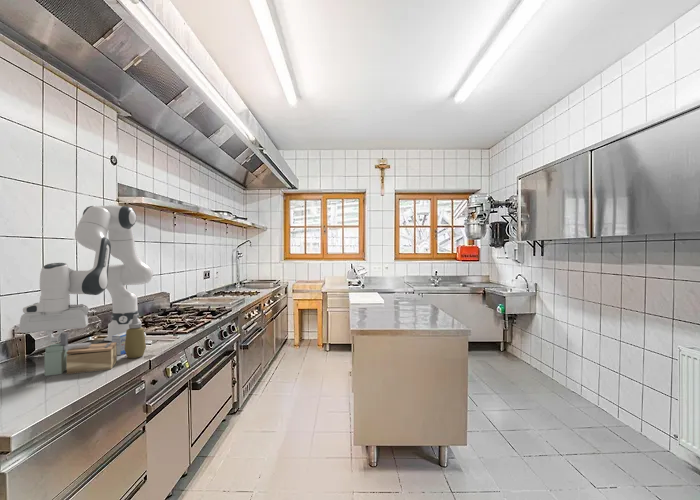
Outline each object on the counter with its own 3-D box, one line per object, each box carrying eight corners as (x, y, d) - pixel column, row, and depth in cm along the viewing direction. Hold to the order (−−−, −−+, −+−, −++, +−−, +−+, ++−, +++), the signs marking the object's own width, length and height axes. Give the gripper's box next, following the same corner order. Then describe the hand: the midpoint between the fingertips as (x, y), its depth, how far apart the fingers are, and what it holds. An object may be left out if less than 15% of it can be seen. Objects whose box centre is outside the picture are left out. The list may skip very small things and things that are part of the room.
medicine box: (120, 355, 154) (120, 336, 154) (111, 355, 155) (111, 335, 155) (134, 350, 162) (134, 331, 161) (126, 350, 162) (126, 331, 162)
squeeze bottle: (123, 360, 147) (123, 317, 147) (125, 355, 154) (125, 314, 154) (145, 357, 150) (145, 316, 150) (146, 352, 158) (146, 313, 158)
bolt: (62, 348, 135) (62, 333, 135) (91, 345, 139) (90, 330, 139) (60, 350, 133) (60, 334, 133) (89, 347, 136) (88, 332, 136)
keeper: (52, 369, 136) (51, 343, 136) (67, 368, 138) (67, 342, 137) (44, 375, 129) (44, 348, 129) (61, 373, 131) (61, 346, 131)
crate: (75, 366, 140) (75, 348, 140) (116, 361, 145) (116, 344, 145) (66, 374, 130) (66, 355, 130) (111, 369, 136) (111, 351, 136)
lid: (75, 347, 140) (75, 344, 140) (116, 344, 145) (116, 341, 145) (66, 354, 130) (66, 350, 130) (110, 350, 136) (111, 347, 136)
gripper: (90, 302, 140) (90, 337, 140) (25, 306, 132) (25, 342, 132) (85, 305, 134) (85, 340, 134) (17, 308, 126) (17, 346, 126)
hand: (55, 341), depth 133 cm, fingers closed
